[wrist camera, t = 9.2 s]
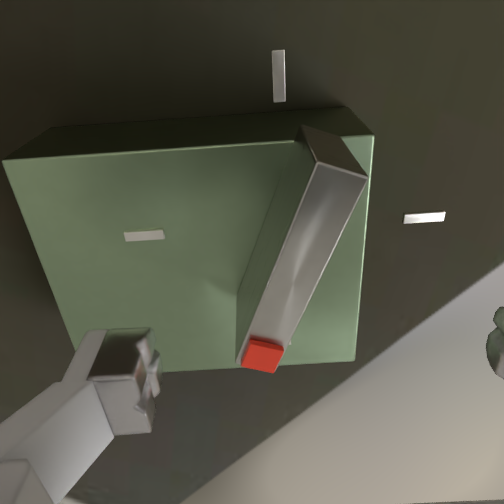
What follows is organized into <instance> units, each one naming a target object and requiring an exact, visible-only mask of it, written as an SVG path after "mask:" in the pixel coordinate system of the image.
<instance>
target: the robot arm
mask: <svg viewBox="0 0 504 504" xmlns="http://www.w3.org/2000/svg"><path fill="white" fill-rule="evenodd" d="M493 321H494V323H495V324H496V326H497V328H496V329H495V330H493V331H492V332H491V333H490V334H489V335H488V339H487V343H486V351H487V358H488V361H489V363H490V366H491V367H492V369H493V371H494V372H495V374H496V375H498V376H499V377H501V378H503V379H504V307H499V309H498V310H497V311H496V312H495V315H494V318H493ZM156 340H157V339H156V336H155V333H154V329H152V328H151V327H141V328H113V329H95V330H89V331H88V332H86V333H85V335H84V337H83V339H82V341H81V343H80V345H79V347H78V349H77V351H76V353H75V355H74V357H73V359H72V361H71V363H70V365H69V367H68V369H67V371H66V373H65V375H64V377H63V379H62V381H61V382H55V383H53V384H52V385H51V386H49V387H48V388H47V389H45V390H44V391H43V392H42V393H40V394H39V395H38V396H36V397H35V398H34V399H32V400H31V401H30V402H28V403H27V404H26V405H24V406H23V407H22V408H20V409H19V410H18V411H17V412H15V413H14V414H13V415H11V416H10V417H9V418H7V419H6V420H5V421H3V422H2V423H1V424H0V504H58V503H59V502H60V501H61V500H62V499H63V497H64V496H65V495H66V494H67V493H68V492H69V490H70V489H71V488H72V487H73V486H74V484H75V483H76V482H77V481H78V480H79V479H80V477H81V476H82V475H83V474H84V473H85V471H86V470H87V469H88V468H89V467H90V466H91V464H92V463H93V462H94V461H95V460H96V458H97V457H98V456H99V455H100V454H101V453H102V451H103V450H104V449H105V448H106V447H107V445H108V444H109V443H110V442H111V441H112V440H113V438H114V436H113V435H125V434H138V433H151V429H152V425H153V421H154V416H155V412H156V404H155V401H154V397H156V396H157V395H158V394H159V393H160V390H161V385H162V376H163V367H162V359H161V355H160V353H159V352H158V351H157V350H156V349H154V347H155V343H156ZM414 504H504V500H483V501H459V502H438V503H437V502H436V503H414Z"/></svg>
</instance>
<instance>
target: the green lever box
mask: <svg viewBox="0 0 504 504" xmlns="http://www.w3.org/2000/svg"><path fill="white" fill-rule="evenodd" d="M272 77H273V101H274V102H285V101H286V91H285V50H284V49H281V50H272ZM300 125H306V126H309V127H312V128H315V129H318V130H321V131H324V132H327V133H330V134H334V135H337V136H340V137H341V138H342V140H343V141H344V142H345V144H346V145H347V147H348V148H349V150H350V151H351V152H352V154H353V155H354V157H355V158H356V160H357V161H358V162H359V164H360V165H361V167H362V168H363V170H364V171H365V172H366V174H367V175H368V177H369V178H368V181H367V183H366V185H365V187H364V189H363V192H362V194H361V196H360V198H359V200H358V202H357V204H356V206H355V208H354V210H353V212H352V214H351V216H350V218H349V220H348V223H347V225H346V227H345V229H344V231H343V233H342V235H341V237H340V239H339V241H338V243H337V245H336V247H335V249H334V251H333V254H332V256H331V258H330V260H329V262H328V264H327V266H326V268H325V270H324V272H323V274H322V276H321V278H320V280H319V282H318V285H317V287H316V289H315V291H314V293H313V295H312V297H311V299H310V301H309V303H308V305H307V307H306V309H305V311H304V313H303V316H302V318H301V320H300V322H299V324H298V326H297V328H296V330H295V332H294V334H293V336H292V338H291V340H290V342H289V344H288V347H287V349H286V351H285V353H284V355H283V357H282V359H281V361H280V363H279V365H278V366H280V365H297V364H314V363H331V362H348V361H355V356H356V344H357V333H358V322H359V311H360V299H361V288H362V277H363V265H364V254H365V243H366V231H367V220H368V209H369V197H370V186H371V175H372V163H373V152H374V141H375V135H374V133H373V132H372V131H371V130H370V129H369V128H368V127H367V126H366V125H365V124H364V123H363V122H362V121H361V120H360V119H359V118H358V117H357V116H356V115H355V114H354V113H353V112H352V111H351V110H350V109H349V108H348V107H338V108H324V109H310V110H295V111H281V112H267V113H253V114H239V115H225V116H210V117H196V118H182V119H168V120H154V121H140V122H125V123H111V124H97V125H83V126H69V127H55V128H50V129H48V130H46V131H45V132H43V133H42V134H40V135H39V136H37V137H36V138H34V139H33V140H31V141H30V142H28V143H27V144H25V145H24V146H22V147H21V148H19V149H18V150H16V151H15V152H13V153H12V154H10V155H9V156H7V157H6V158H4V159H3V160H2V165H3V167H4V170H5V172H6V175H7V177H8V180H9V183H10V185H11V188H12V190H13V193H14V195H15V198H16V200H17V203H18V206H19V208H20V211H21V213H22V216H23V218H24V221H25V223H26V226H27V229H28V231H29V234H30V236H31V239H32V241H33V244H34V247H35V249H36V252H37V254H38V257H39V259H40V262H41V264H42V267H43V270H44V272H45V275H46V277H47V280H48V282H49V285H50V287H51V290H52V293H53V295H54V298H55V300H56V303H57V305H58V308H59V311H60V313H61V316H62V318H63V321H64V323H65V326H66V328H67V331H68V334H69V336H70V339H71V341H72V344H73V346H74V349H75V351H77V349H78V347H79V345H80V343H81V341H82V339H83V337H84V335H85V333H86V332H88V331H89V330H95V329H113V328H141V327H151V328H152V329H154V333H155V336H156V339H157V340H156V343H155V347H154V349H156V350H157V351H158V352H159V353H160V355H161V359H162V367H163V372H177V371H194V370H211V369H228V368H245V367H241V365H240V364H236V363H235V340H236V301H237V294H238V292H239V289H240V286H241V284H242V281H243V278H244V275H245V273H246V270H247V267H248V265H249V262H250V259H251V256H252V254H253V251H254V248H255V246H256V243H257V240H258V237H259V235H260V232H261V229H262V227H263V224H264V221H265V218H266V216H267V213H268V210H269V208H270V205H271V202H272V199H273V197H274V194H275V191H276V189H277V186H278V183H279V180H280V178H281V175H282V172H283V170H284V167H285V164H286V161H287V159H288V156H289V153H290V151H291V148H292V145H293V142H294V140H295V137H296V134H297V132H298V129H299V126H300ZM444 217H445V211H444V210H438V211H423V212H408V213H403V220H402V222H403V223H404V224H405V223H421V222H436V221H444Z"/></svg>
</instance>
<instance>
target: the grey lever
mask: <svg viewBox="0 0 504 504" xmlns="http://www.w3.org/2000/svg"><path fill="white" fill-rule="evenodd" d="M368 178H369V177H368V175H367V174H366V172H365V171H364V170H363V168H362V167H361V165H360V164H359V162H358V161H357V160H356V158H355V157H354V155H353V154H352V152H351V151H350V150H349V148H348V147H347V145H346V144H345V142H344V141H343V140H342V138H341V137H340V136H337V135H334V134H330V133H327V132H324V131H321V130H318V129H315V128H312V127H309V126H306V125H300V126H299V129H298V132H297V134H296V137H295V140H294V142H293V145H292V148H291V151H290V153H289V156H288V159H287V161H286V164H285V167H284V170H283V172H282V175H281V178H280V180H279V183H278V186H277V189H276V191H275V194H274V197H273V199H272V202H271V205H270V208H269V210H268V213H267V216H266V218H265V221H264V224H263V227H262V229H261V232H260V235H259V237H258V240H257V243H256V246H255V248H254V251H253V254H252V256H251V259H250V262H249V265H248V267H247V270H246V273H245V275H244V278H243V281H242V284H241V286H240V289H239V292H238V294H237V301H236V340H235V363H236V364H240V365H241V367H246V368H251V369H256V370H260V371H265V372H270V373H274V371H276V369H277V367H278V365H279V363H280V361H281V359H282V357H283V355H284V353H285V351H286V349H287V347H288V344H289V342H290V340H291V338H292V336H293V334H294V332H295V330H296V328H297V326H298V324H299V322H300V320H301V318H302V316H303V313H304V311H305V309H306V307H307V305H308V303H309V301H310V299H311V297H312V295H313V293H314V291H315V289H316V287H317V285H318V282H319V280H320V278H321V276H322V274H323V272H324V270H325V268H326V266H327V264H328V262H329V260H330V258H331V256H332V254H333V251H334V249H335V247H336V245H337V243H338V241H339V239H340V237H341V235H342V233H343V231H344V229H345V227H346V225H347V223H348V220H349V218H350V216H351V214H352V212H353V210H354V208H355V206H356V204H357V202H358V200H359V198H360V196H361V194H362V192H363V189H364V187H365V185H366V183H367V181H368Z"/></svg>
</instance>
